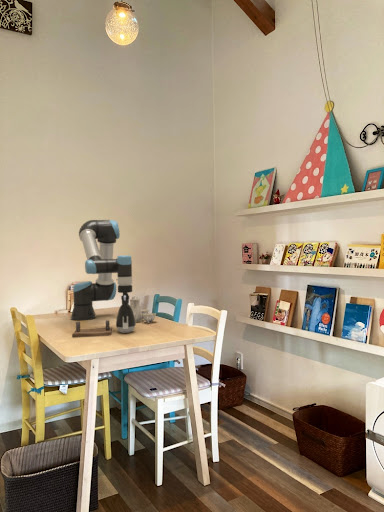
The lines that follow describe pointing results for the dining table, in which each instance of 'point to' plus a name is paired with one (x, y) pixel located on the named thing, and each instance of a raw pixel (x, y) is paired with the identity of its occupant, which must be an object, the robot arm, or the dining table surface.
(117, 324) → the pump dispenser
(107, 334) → the holder
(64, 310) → the dining table surface
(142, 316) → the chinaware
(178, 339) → the dining table surface
